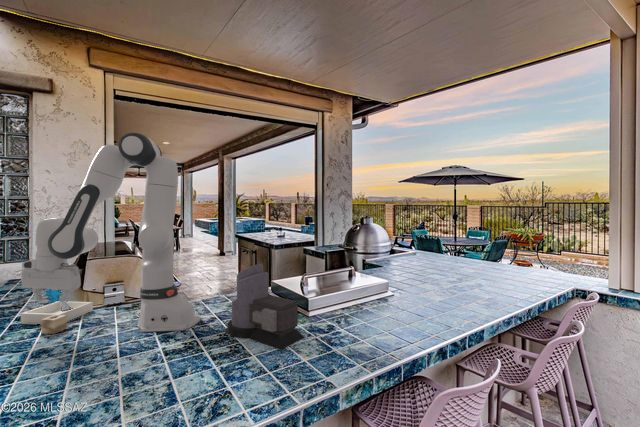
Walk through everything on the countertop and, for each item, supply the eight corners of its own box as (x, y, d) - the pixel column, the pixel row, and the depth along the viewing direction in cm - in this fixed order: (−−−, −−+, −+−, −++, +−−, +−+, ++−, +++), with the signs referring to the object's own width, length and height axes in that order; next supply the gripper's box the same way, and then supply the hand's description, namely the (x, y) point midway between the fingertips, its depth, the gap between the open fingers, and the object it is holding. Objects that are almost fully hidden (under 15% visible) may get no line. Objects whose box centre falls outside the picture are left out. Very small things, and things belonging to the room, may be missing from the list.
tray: (92, 311, 138) (92, 302, 138) (59, 325, 122) (58, 314, 122) (58, 310, 139) (58, 301, 139) (20, 323, 124) (20, 313, 123)
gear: (57, 304, 142) (42, 288, 143) (46, 314, 142) (32, 298, 142) (75, 300, 153) (61, 285, 154) (66, 309, 153) (52, 294, 153)
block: (66, 328, 119) (66, 315, 119) (54, 334, 114) (53, 319, 114) (54, 328, 119) (53, 314, 119) (41, 333, 114) (40, 319, 114)
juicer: (216, 330, 117) (215, 263, 116) (249, 318, 130) (249, 257, 129) (276, 352, 99) (276, 273, 98) (308, 335, 112) (308, 265, 111)
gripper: (85, 262, 118) (85, 299, 118) (34, 260, 120) (34, 297, 120) (70, 265, 112) (70, 305, 112) (17, 263, 114) (17, 301, 114)
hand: (51, 300), depth 116 cm, fingers open, 8 cm apart
